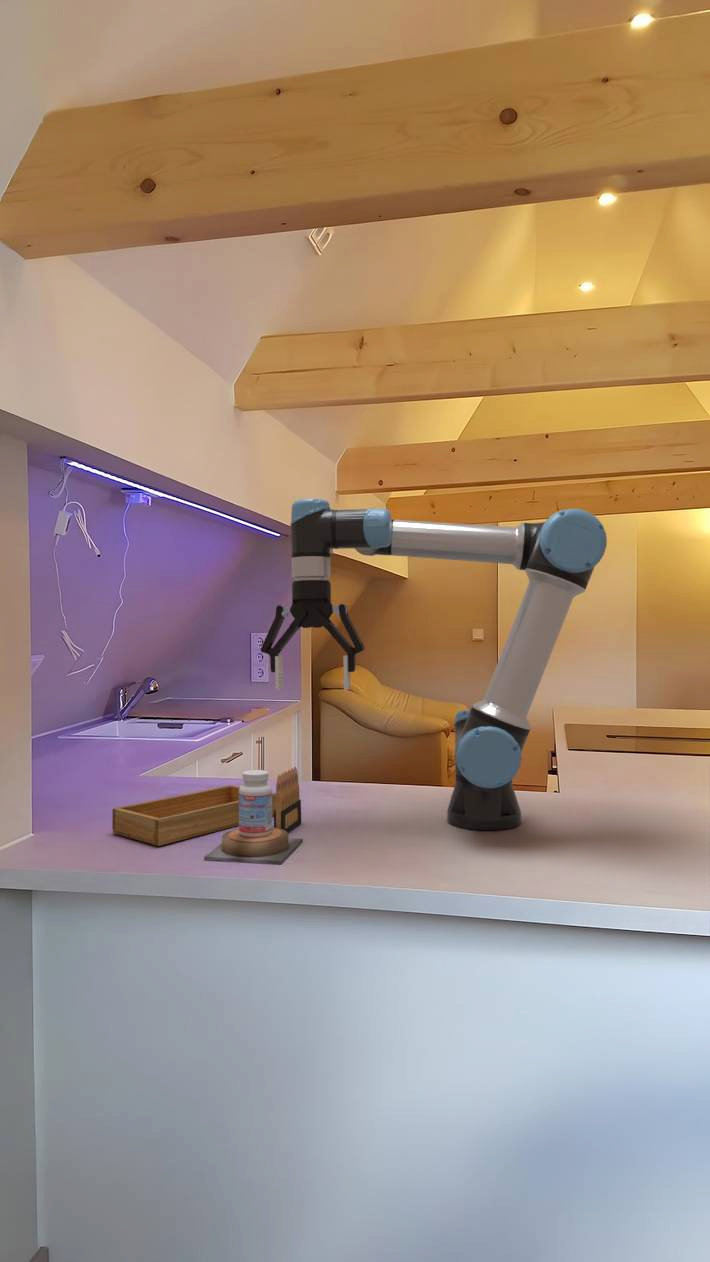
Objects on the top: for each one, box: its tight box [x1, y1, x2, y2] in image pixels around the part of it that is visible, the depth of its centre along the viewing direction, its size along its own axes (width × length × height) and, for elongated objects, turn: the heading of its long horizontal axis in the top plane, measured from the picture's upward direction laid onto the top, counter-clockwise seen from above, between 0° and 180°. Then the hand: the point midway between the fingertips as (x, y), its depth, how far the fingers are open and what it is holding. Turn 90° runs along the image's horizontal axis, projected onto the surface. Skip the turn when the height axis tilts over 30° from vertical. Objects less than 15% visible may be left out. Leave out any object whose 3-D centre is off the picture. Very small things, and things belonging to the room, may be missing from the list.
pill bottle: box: [238, 769, 273, 837], centre depth 141 cm, size 6×6×11 cm
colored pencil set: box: [273, 766, 302, 834], centre depth 156 cm, size 11×2×12 cm, turn 164°
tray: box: [111, 784, 276, 847], centre depth 160 cm, size 31×15×6 cm, turn 140°
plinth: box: [203, 826, 304, 865], centre depth 142 cm, size 14×14×3 cm
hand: (313, 689), depth 151 cm, fingers open, 13 cm apart
